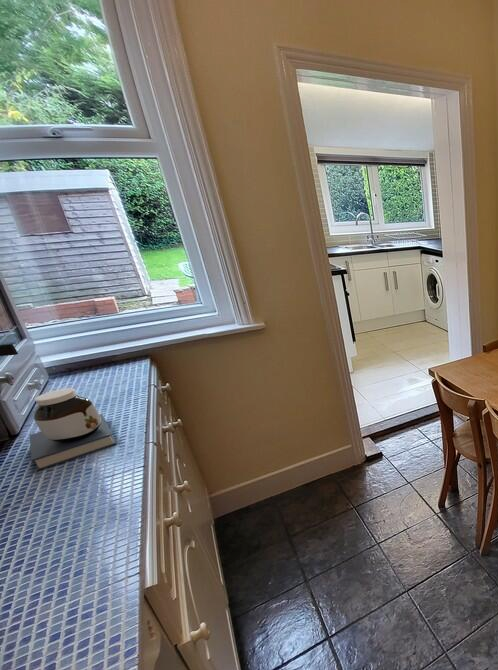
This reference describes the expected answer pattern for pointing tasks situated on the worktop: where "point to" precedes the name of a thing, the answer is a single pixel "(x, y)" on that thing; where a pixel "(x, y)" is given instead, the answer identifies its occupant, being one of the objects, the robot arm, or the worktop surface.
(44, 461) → the book
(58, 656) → the worktop surface
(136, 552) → the worktop surface
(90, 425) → the spread jar
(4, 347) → the robot arm
